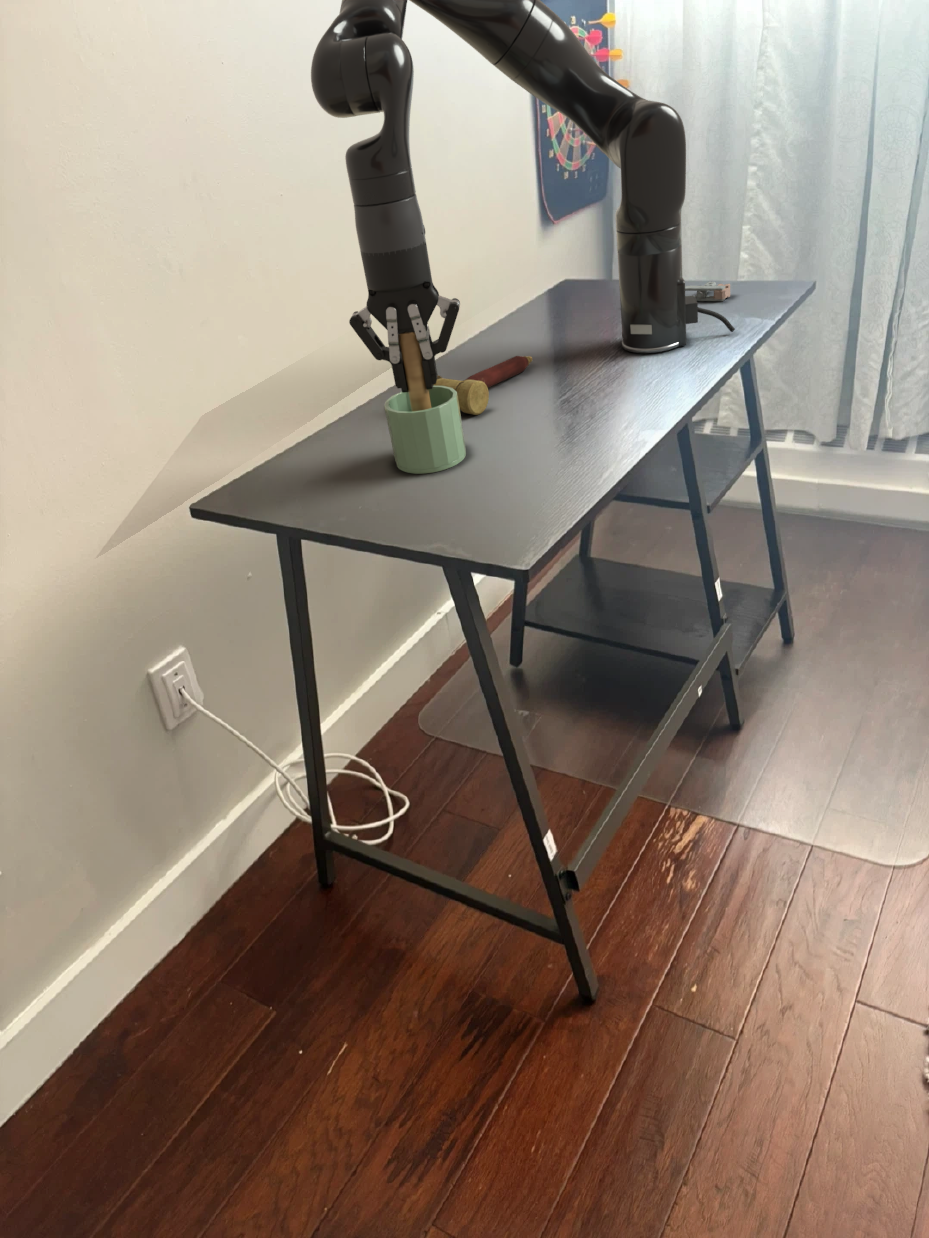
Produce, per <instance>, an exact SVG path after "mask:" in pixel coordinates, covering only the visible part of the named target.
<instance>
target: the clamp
mask: <svg viewBox="0 0 929 1238" xmlns="http://www.w3.org/2000/svg"><path fill="white" fill-rule="evenodd" d="M685 292H696V294H695V295H693V296H694V298H695V299H696V301H697V302H723V301H725V300H726V298H727V299H728V298H730V297H731V283H725V284H723V283H718V284H717V282H716V281H707V282H706V283H705V284H704V285H685ZM709 292H713V295H708V293H709Z"/></svg>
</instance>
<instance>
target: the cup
mask: <svg viewBox="0 0 929 1238" xmlns="http://www.w3.org/2000/svg"><path fill="white" fill-rule="evenodd" d="M429 395H430V401H431V407H432V408H430V409H426V410H420V411H412V410H411V404H410V399H409V393H408V392H404V393H402V391H399V392H398V393H395V394H392V395H391V396H390V397H389V398H387V399H385V402H384V406H383V407H384V411H385V412H384V413H385V417H386V423H387V427H388V432H389V437H390V442H391V447H392V453H393V457H394V461H395V464H396V468H398V470H400V471H401V472H404V473H408V474H415V475H417V474H420V475H421V474H422V475H423V474H432V473H438V472H441V471H446V470H448V469H451V468H453V467H455V466H457V465H458V464H460V463H461V462H462V461H463V460H464V459H465V458H466V455H467V450H466V447H467V446H466V441H465V434H464V429H463V428H464V427H463V422H462V416H461V410H460V408H459V401H458V395H457V392H456V391H455V390H454V389H453V388H450V387H446V386H433V389H429Z"/></svg>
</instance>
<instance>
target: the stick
mask: <svg viewBox="0 0 929 1238" xmlns="http://www.w3.org/2000/svg"><path fill="white" fill-rule="evenodd" d="M398 335H399V342H400V343H399V344H400V349H401V355H402V360H403V365H404V371H405V376H406V381H407V387H408V393H409V399H410V404H411V410H412V411H420V410H426V409H430V408H432V407H431V401H430V395H429V389H428V390H427V388H426V382H425V377H424V371H423V365H422V359H423V355H422V351H421V348H420V345H419V342H418V341H417V338H416V334H415V332H410V331H406V332H404V333H401V334H398Z"/></svg>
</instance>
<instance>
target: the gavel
mask: <svg viewBox="0 0 929 1238" xmlns="http://www.w3.org/2000/svg"><path fill="white" fill-rule="evenodd" d="M533 361H534V359H533V357H532V356H531V355H528V356H526V355H523V356H522V355H515V356H513V357H511V358H508V359H506V360H503V361H502V362H499V363H497V364H494V365H492V366H490V367H488V368H486V369H483V370H480V371H478V372H476V373H474V374H471V375H469V376H468V377H466V378H465V379H464V380H459V379H451V378H445V377H442V376H441V375H438V377H437V381H436V384H434V385H433V386H446V387H450V388H453V389H454V390H455V391H456V392H457V395H458V401H459V408H460V411H461V412H462V413H464V414H468V415H474V416H479V415H481V414H482V413H484V411H485V410H486V408H487V406H488V404H489V398H490V393H489V389H490V388H491V387H493V386H496V385H498V384H499V383H502V382H504V381H506V380H508V379H510V378H513V377H515V376H518V375H519V374H521V373H523V372H524V371H525V370H526V369H527V367H528V366H529V365H530V364H531V363H532V362H533Z"/></svg>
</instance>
